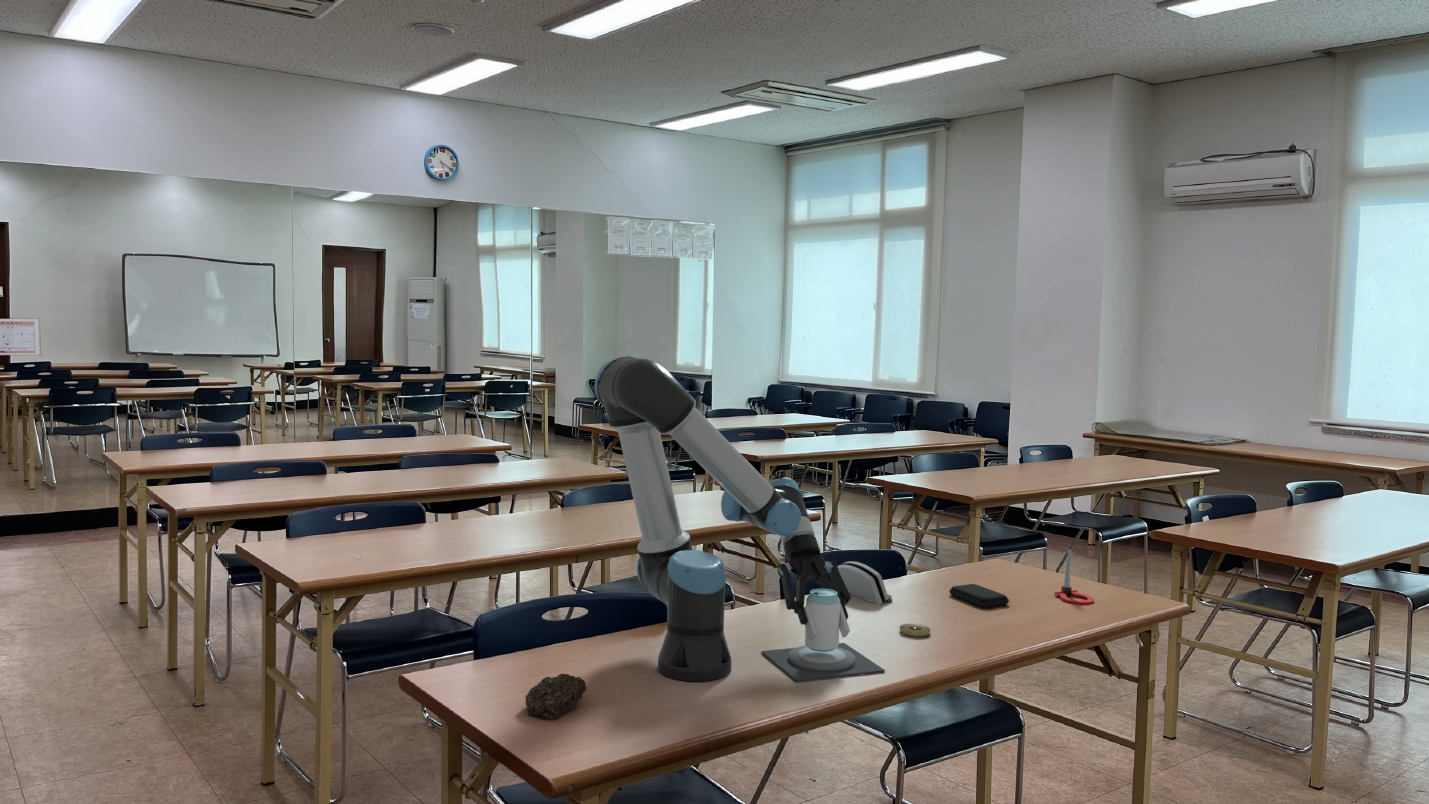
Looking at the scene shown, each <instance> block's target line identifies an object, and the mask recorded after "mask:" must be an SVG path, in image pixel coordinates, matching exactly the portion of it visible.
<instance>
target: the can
mask: <svg viewBox="0 0 1429 804" xmlns="http://www.w3.org/2000/svg"><path fill="white" fill-rule="evenodd" d="M805 599H806V603H805V604H806V605H805V606H808V608H809V611H810V613H811V616H812V620H813V623H814V626H815V629H816V632H817V635H816V636H815V638H814V639H813V640H811V641H809V638H808V634H807V631H806V628H805V632H804V633H805V634H804V646H807V647H809V649H811V650H813V651H818V652H830V651H833V650H834V649H836V648H837V647H838V646H839V642H840V641H839V640H840V629H839V619H840V599H839V598H838V596H837V592H836V591H834V590H830V589H822V588H813V589H811V590H810V591H809V594H808V596H807V597H806V598H805Z"/></svg>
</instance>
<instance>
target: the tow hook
mask: <svg viewBox="0 0 1429 804" xmlns="http://www.w3.org/2000/svg"><path fill="white" fill-rule="evenodd" d="M1071 556H1072V549H1068V550H1067V557H1066V560H1065V562H1066V563H1065V572H1064V573H1065V575H1064V578H1063V585H1061V590H1060V591H1054V597H1055V598H1059V599H1060V600H1061V601H1063V602H1066V603H1067V602H1070V603H1069V604H1071V603H1072V604H1071V605H1077V604H1080V605H1079V606H1088V605H1089V604H1090V605H1093V604H1094V603H1095V599H1094V598H1093V597H1092V596H1091V595H1088V594H1085V593H1080V592H1078V590H1076V589H1072V588H1073V587H1071V567H1072V557H1071ZM1070 596H1071V597H1075V598H1076V597H1077V598H1082V599H1084V600H1077V599H1072V598H1069V597H1070Z"/></svg>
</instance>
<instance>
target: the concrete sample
mask: <svg viewBox="0 0 1429 804" xmlns="http://www.w3.org/2000/svg"><path fill="white" fill-rule="evenodd" d="M586 692H587V685H586V682H585V680H584V679H583V678H582V677H580V676H577V677H576V676H574V675H570V674H569V673H560V674H558V675H557V676H553V677H550V676H545V677H543V678H542V679H541V680H540V681H539V682H538V683H537V684H536V685H534V686H533V687H531V688H530V689H529V691H528V693H527V694H526V695H525V696H524V697H525V707H526V713H527V714H528V715H529V716H533V717H535V718H536V717H537V718H539V719H542V720H548V719H549V720H550V719H551V720H553V719H554V718H556V717H560V716H561V715H562V714H563V713H566V712H568V711H570V710H572V709H574V708H576V706H577V705H578V703H579V702H580V700H581V699H582V698H583V694H584V693H586Z"/></svg>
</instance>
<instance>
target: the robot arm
mask: <svg viewBox="0 0 1429 804" xmlns="http://www.w3.org/2000/svg"><path fill="white" fill-rule="evenodd" d="M594 381H595V382H594V391H595V396H596V397H597V399H598V401H599V403H600V404H601V405H602V406H603V407H604V409H605V413H606V417H607V421H608V425H609V428H611V429H613V430H614V431H616V432H617V433H618V437H619V442H620V446H621V447H620V448H621V450H622V455H623V458H624V464H625V468H626V473H627V477H628V481H629V485H630V490H631V495H632V498H633V499H632V500H633V503H634V507H635V511H636V512H635V513H636V516H637V520H638V525H639V526H638V527H639V530H640V533H641V540H640V541H639V543H638V544H637V552H638V557H639V558H638V560H637V563H636V574H637V578H638V580H639V581H638V582H639V583H640V584H641V586H642V587H643V589H645V590H646V592H648V594H649V595H651V596H652V597H654V598H655V599H657V600H659V601H660V602H662V603H663V604H664V605H665V606H667V609H666V610H667V612H666V615H667V616H666V619H667V623H666V624H667V625H666V626H667V627H666V633H665V637H664V639H663V642H662V645H661V648H660V650H659V654H658V656H657V670H658V672H659V673H660V674H662V675H663V676H665V677H668V678H671V679H674V680H679V681H684V682H685V681H686V682H709V681H713V680H717V679H722V678H724V677H726V676H728V675H729V674H731V672H732V655H731V653H730V649H729V647H728V642H727V640H726V636H725V631H724V630H725V629H724V628H725V626H724V624H725V623H724V622H725V602H726V601H725V597H726V596H725V595H726V581H727V578H726V577H727V576H726V568H725V567H726V566H725V563H724V562H723V560H722V559H721V558H720V557H719V556H718V555H716V554H714V553H711V552H705V551H703V550H697V549H695V550H694V548H693V544H692V540H691V535H690V534H689V533H688V532H686V531H685V530H683V529H682V528H681V527H682V526H681V522H680V517H679V513H678V509H677V503H676V500H675V499H676V498H675V495H674V491H673V490H674V489H673V486H672V480H671V477H670V471H669V468H668V463H667V459H666V453H665V451H664V445H663V441H662V437H661V436H662V435H669V436H670V437H671V438H672V439H674V441H675V442H676V443H677V444H678V445H679V446H680V447H681V448H682V449H683V451H685V452H686V453H688V455H690V457H692V459H693V460H694V461H696V462H697V463H698V465H699V466H701V468H703V469H704V470H705V471H706V473H708V474H709V475H710V476H711V477H712V478H713V479H714V480H715V481H716V482H717V483H718V484H719V485H720V486H721V487H722V488H723V489H724V491H723V493H722V497H721V500H720V510H721V514H722V516H723V518H724V519H725V520H726V521H732V522H737V523H739V522H746V523H749V524H750V525H753V526H755V527H758V528H760V529H762V530H764V531H767V532H769V533H770V534H771V535H774V536H775V535H777V536H779V538H780V541H781V544H782V546H783V550H784V554H785V556H786V557H785V558H786V560H787V564H785V563H781V564H780V565H779V567H778V569H777V574H778V576H779V577H780V579H781V584H782V591H783V594H784V595H783V596H784V601H785V606H786V609H787V610H789V611H790V610H793V613H794V614H796V615H797V617H798V620H799V623H800V624H801V625H802V626H803V625H804V627H805V628H806V631H807V634H808V638H809V641H811V640H813V639H814V638H815V636H816V635H817V632H816V629H815V626H814V623H813V620H812V616H811V613H810V611H809V608H808V606H806V605H805V599H806V598H805V597H806V582H807V581H815V584H816V585H819V586H820V589H830V590H834V591H836V592H837V596H838V598H839V599H840V619H839V633H840V635H841V637H842V638H846V637H847V636H848V635H849V633H850V632H851V629H850V626H849V623H848V619H849V614H848V611H847V608H846V606H847V605H848V604H849V602H850V600H852V596H851V594H850V593H849V592H848V590H847V588H846V585H845V583H844V581H843V579H842V577H841V575H840V573H839V570H838V566H839V565H838V561H837V560H835V559H834V560H832V561H826V560H825V559H824V558H823V557H822V555H821V549H820V546H819V543H818V540H817V537H816V535H815V533H816V532H815V531H814V527H813V526H812V522H811V520H810V518H809V513H808V510H807V507H806V504H805V501H804V497H803V494H802V492H801V490H800V487H799V486H798V483H797V482H796V480H794V479H792V478H791V477H781V478H780V479H779V478H776V479H774V480H773V481H771V482H768V480H767V479H766V478H765V477H764V476H763V475H761V473H760V472H759V470H757V469H756V468H755V467H754V466H753V465H752V464H751V463H750V462H749V461H748V460H747V459H746V458H745V456H743V454H741V453H740V451H739V450H737V449H736V447H735V446H734V445H733V444H732V443H731V442H730V441H729V440H728V439H726V437H725V436H724V435H723V433H721V432H720V431H719V430H718V429H717V428H716V427H715V426H714V425H713V423H712V422H710V421H709V420H708V419H707V418H706V417H705V415H704V414H703V413H702V412H700V410H699V409H698V408H696V405H697V404H696V399H695V398H694V397H693V395H692V394H690V393H689V392H688V391H687V390H686V389H685V387H684V386H682V384H681V383H680V382H679V381H678V380H677V378H675V377H674V376H673V375H672V373H670V372H669V371H668V370H667V369H666V368H665V367H664V366H663V365H662V364H660V363H658V362H656V361H654V360H652V359H649V358H637V357H634V356H628V355H627V356H619V357H616V358H612V359H610V360H608V361H607V362H605V363H604V364H602V366H601V368H600V369H599V371H598V372H597V374H596V377H595V380H594ZM824 569H826V571H825V570H824ZM791 572H792V574H794V575H795V576H796V578H795V579H796V580H795V584H796V589H795V590H796V591H795V593H794V587H793V583H792V577H791ZM827 573H828V574H827ZM828 575H829V577H830V579H829V577H828Z"/></svg>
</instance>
